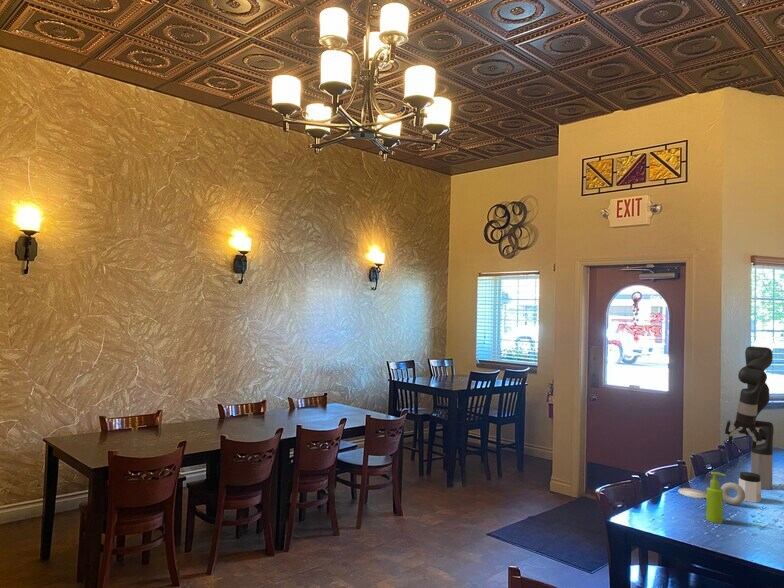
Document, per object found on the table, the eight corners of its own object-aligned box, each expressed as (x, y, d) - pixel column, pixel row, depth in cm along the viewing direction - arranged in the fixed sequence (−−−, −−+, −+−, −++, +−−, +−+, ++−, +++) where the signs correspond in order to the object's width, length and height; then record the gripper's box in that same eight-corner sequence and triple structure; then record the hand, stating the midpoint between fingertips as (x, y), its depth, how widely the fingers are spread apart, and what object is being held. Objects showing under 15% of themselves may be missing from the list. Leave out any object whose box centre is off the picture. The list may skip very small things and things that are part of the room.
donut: (745, 506, 257) (746, 484, 257) (744, 508, 254) (744, 485, 255) (720, 501, 264) (721, 479, 264) (719, 502, 261) (719, 480, 261)
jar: (754, 504, 261) (754, 477, 262) (735, 498, 268) (736, 473, 268) (763, 501, 266) (764, 475, 267) (745, 496, 273) (745, 470, 273)
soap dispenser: (725, 525, 233) (725, 475, 233) (705, 521, 236) (706, 472, 237) (725, 520, 238) (726, 472, 238) (706, 517, 241) (707, 469, 242)
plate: (682, 488, 282) (682, 485, 282) (711, 494, 273) (712, 492, 273) (674, 493, 272) (674, 491, 272) (704, 500, 264) (704, 498, 264)
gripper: (765, 413, 255) (759, 447, 258) (728, 406, 262) (723, 439, 265) (765, 418, 249) (760, 453, 251) (728, 410, 256) (723, 444, 259)
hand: (741, 446), depth 258 cm, fingers open, 8 cm apart
